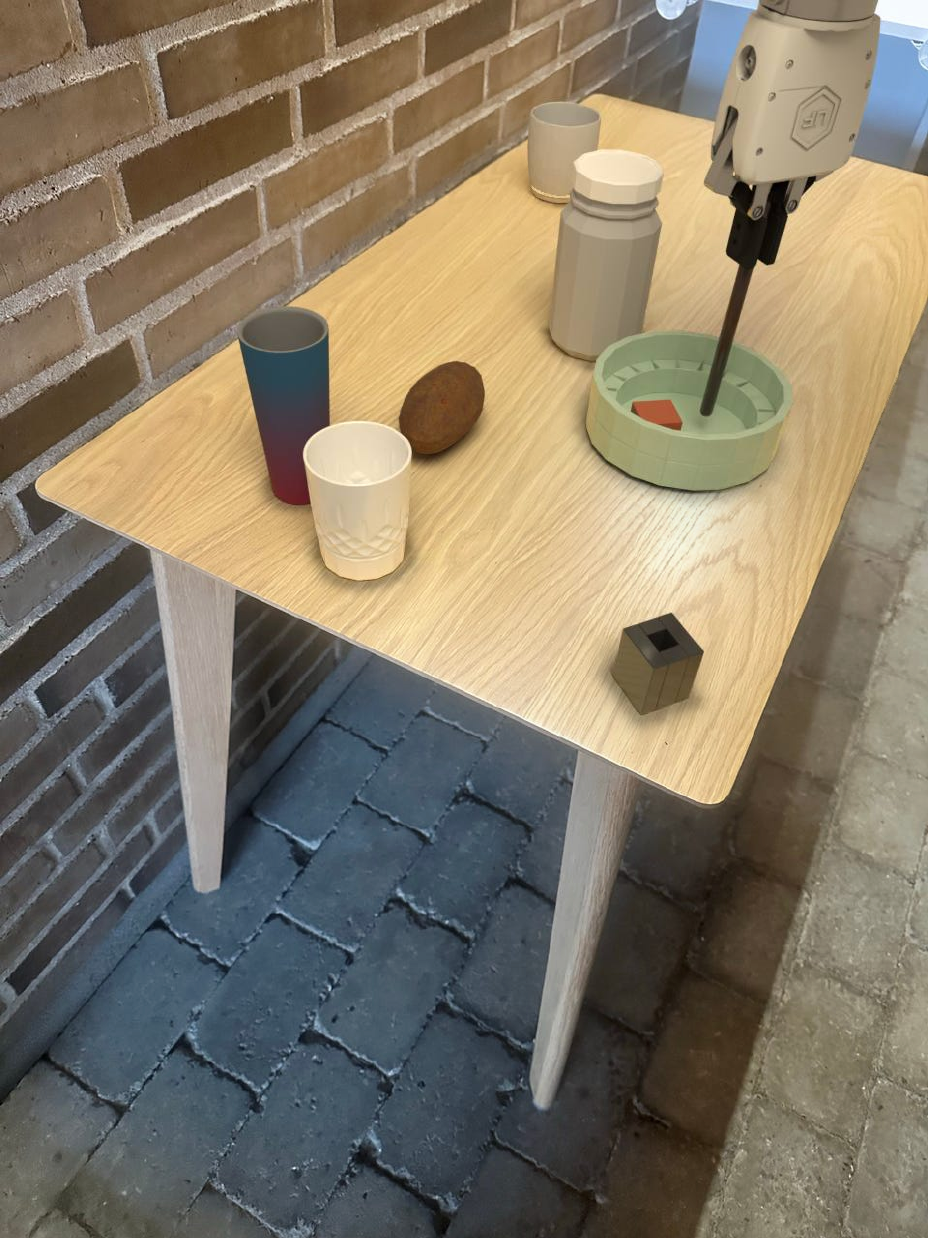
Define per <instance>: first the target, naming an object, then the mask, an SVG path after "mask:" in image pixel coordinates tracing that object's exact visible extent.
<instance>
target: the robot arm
mask: <svg viewBox="0 0 928 1238" xmlns="http://www.w3.org/2000/svg"><path fill="white" fill-rule="evenodd" d="M878 3H879V0H758V3H757V8H756V9H755V10H752V11H750V13H749V16H748V18H747V21H746V23H745V25H744V28H743V30H742V33H741V35H740V38H739V42H738V44H737V46H736V49H735V52H734V56H733V58H732V61H731V63H730V66H729V70H728V73H727V77H726V80H725V83H724V85H723V90H722V94H721V98H720V101H719V104H718V109H717V114H716V117H715V120H714V121H715V122H714V126H713V132H712V137H711V143H710V160H711V164H710V167H709V168H708V170H707V172H706V175H705V177H704V180H703V185H704V187H706V189H709V190H710V191H711V192H712V193H714V194H717V195H721V196H723V197H727V198H728V199H729V204H730V206H731V207H733V208H734V215H733V219H732V222H731V226H730V231H729V234H728V239H727V242H726V247H725V254H726V257H728V258H729V259H731V260H732V261H733V262H735V263H736V264H737V265H738V266H739V265H740V266H742V267H743V268H745V269H746V270H748V269H753V268H754V269H755V267H756V266H757V263H758V261H759V262H761V264H763V265H765V266H767V267H769V266H772V265H774V264H775V263H776V261H777V256H778V254H779V250H780V246H781V242H782V239H783V236H784V232H785V229H786V225H787V222H788V218H789V215H791V214H793V213H795V212H796V211H797V209H798V208H799V205H800V202H801V201H802V197H803V196H804V195H805V194H806V193H807V191H809V189H811V187H812V186H813V185H814V184H815V183H817V182H819V181H821V180H822V179H824V178H826V177H828V176H830V175H832V174H833V173H834V172H836V171H838V170H839V169H841V168H843V167H844V166H845V165H846V164H847V163H848V162H849V161H850V158H851V156H852V154H853V152H854V149H855V145H856V142H857V139H858V135H859V132H860V128H861V125H862V121H863V118H864V114H865V111H866V107H867V102H868V98H869V94H870V90H871V85H872V81H873V77H874V73H875V67H876V61H877V57H878V48H879V41H880V32H881V17H880V15H879V14H877V13H876V9H877V6H878ZM767 197H768V198H770V199H771V201H772V207H771V210H770V214H769V217H768V221H767V219H766V218H764V217H762V215H763V213H764V211H765V206H766V201H767Z"/></svg>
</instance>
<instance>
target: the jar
mask: <svg viewBox="0 0 928 1238" xmlns="http://www.w3.org/2000/svg"><path fill="white" fill-rule="evenodd" d="M664 176H665V171H664V169H663V167H662V166H661V163H660V162H659V161H657V160H655V159H654V158H652V157H650V156H648V155H646V154H644V153H639V152H635V151H631V150H626V149H602V148H601V149H597V151H593V152H588V153H584V154H582V155H581V156H580V157H579V158H578V159H577V160H576V161H574V163H573V172H572V183H573V186H574V188H573V189H572V190H571V191H570V197H571V201H570V202H569V203H566V205H565V206H564V207H563V208H562V209H561V211H560V217H559V225H558V226H559V227H558V233H557V234H558V236H557V243H556V253H555V263H554V270H553V281H552V289H551V298H550V299H551V300H550V308H549V309H550V310H549V318H548V329H549V334H550V338H551V339H552V340H553V342H554V344H555V346H557V347H558V348H559V349H561V350H562V351H563V352H564V353H566V354H567V355H569V356H570V357H573V358H577V359H580V360H584V361H588V362H596V360H597V358H598V357H599V356H600V355H601V354H602V353H603V352H604V351H605V350H606V348H607V347H608V346H610V345H612V344H614V343H616V342H618V341H620V340H622V339H624V338H626V337H628V336H632V335H637V334H641V333H643V328H644V323H645V317H646V313H647V307H648V302H649V296H650V291H651V285H652V281H653V275H654V269H655V264H656V259H657V254H658V249H659V243H660V238H661V233H662V226H663V221H662V220H661V218H660V215H659V213H658V211H657V209H656V208H658V206H659V204H660V201H659V199H658V197H657V196H658V195H659V194H660V193H661V191H662V186H663V181H664Z"/></svg>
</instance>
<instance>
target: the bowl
mask: <svg viewBox="0 0 928 1238" xmlns="http://www.w3.org/2000/svg"><path fill="white" fill-rule="evenodd" d="M719 337H720V336H718V335H715V334H711V333H705V332H699V331H698V332H697V331H691V330H683V329H682V330H681V329H678V330H676V329H675V330H673V329H672V330H651V331H646V332H642V333H641V334H637V335H632V336H628V337H626V338H624V339H622V340H620V341H618V342H616V343H614V344H612V345H610V346H608V347H607V348H606V350H605V351H604V352H603V353H602V354H601V355H600V356H599V357H598V358H597V360H596V361H595V364H594V369H593V373H592V379H591V387H590V393H589V399H588V406H587V412H586V420H585V428H586V431H587V433H588V437H589V440H590V442H591V445H592V446H593V447H594V448H595V449H596V450H597V452H599V454H600V455H601V456H602V457H603V458H604V459H605V460H606V461H608V462H609V463H610V464H612V465H613V466H616V467H617V468H619V469H620V470H621V471H623V472H625V473H626V474H628V475H629V476H632V477H634V478H637V479H639V480H643V481H645V482H648V483H650V484H651V483H652V484H654V485H656V486H662V487H668V488H672V489H673V488H674V489H681V490H688V491H713V490H725V489H728V488H731V487H735V486H738V485H742V484H745V483H748V482H750V481H752V480H753V479H755V478H756V477H758V476H759V475H760V474H762V473H764V472H766V471H767V470H768V469H769V467H770V465H771V463H772V462H773V460H774V458H775V457H776V454H777V452H778V450H779V447H780V443H781V441H782V438H783V434H784V432H785V429H786V426H787V422H788V420H789V417H790V414H791V412H792V408H793V405H794V399H793V398H794V397H793V387H792V384H791V383H790V381H789V380H788V379H787V376H786V375H785V373H784V372H783V370H782V369H781V368H780V367H779V366H778V365H776V364H775V363H774V362H773V361H771V360H770V359H769V358H768V357H767V356H765V355H764V354H762V353H760V352H759V351H757V350H755V349H753V348H750V347H749V346H747V345H745V344H743V343H740V342H737V341H735V340H733V343H732V347H731V350H730V354H729V357H728V361H727V364H726V368H725V371H724V375H723V378H722V382H721V385H720V389H719V392H718V396H717V399H716V403H715V406H714V410H713V413H712V414H711V415H710V416H708V417H704V416H702V415H701V414H700V407H701V403H702V399H703V396H704V392H705V388H706V385H707V381H708V377H709V374H710V370H711V366H712V363H713V359H714V355H715V352H716V348H717V344H718V341H719ZM654 400H671V401H672V403H673V405H674V407H675V409H676V411H677V412H678V414H679V416H680V418H681V420H682V422H683V423H682V427H681V431H679V430H673V429H670V428H667V427H664V426H661V425H658V424H655V423H652V422H649V421H646V420H644V419H642V418H640V417H639V416H637V415H635V414H634V413H632V412H631V407H632V402H637V401H654Z"/></svg>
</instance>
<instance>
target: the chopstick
mask: <svg viewBox="0 0 928 1238" xmlns="http://www.w3.org/2000/svg"><path fill="white" fill-rule="evenodd" d="M771 207H772V201H771V199H770V198H768V197H767V201H766V206H765V211H764V213H763V215H762V217H764V218H766V219H767V221H768V217H769V214H770V210H771ZM754 271H755V267H754V268H753V269H748V270H746V269H745V268H743V267H742V266H740V265H739V264H738V267H737V271H736V275H735V279H734V281H733V286H732V289H731V293H730V297H729V301H728V304H727V308H726V312H725V315H724V319H723V322H722V327H721V330H720V334H719V336H718V337H719V341H718V344H717V348H716V352H715V355H714V359H713V363H712V366H711V370H710V374H709V377H708V381H707V385H706V388H705V392H704V396H703V399H702V403H701V407H700V414H701V415H702V416H704V417H708V416H710V415H711V414H712V413H713V410H714V406H715V403H716V399H717V396H718V392H719V389H720V385H721V382H722V378H723V375H724V371H725V368H726V364H727V361H728V357H729V354H730V350H731V347H732V343H733V341H735V340H734V339H735V336H736V332H737V329H738V325H739V321H740V318H741V314H742V311H743V307H744V304H745V302H746V298H747V294H748V290H749V286H750V283H751V280H752V277H753V273H754Z"/></svg>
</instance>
